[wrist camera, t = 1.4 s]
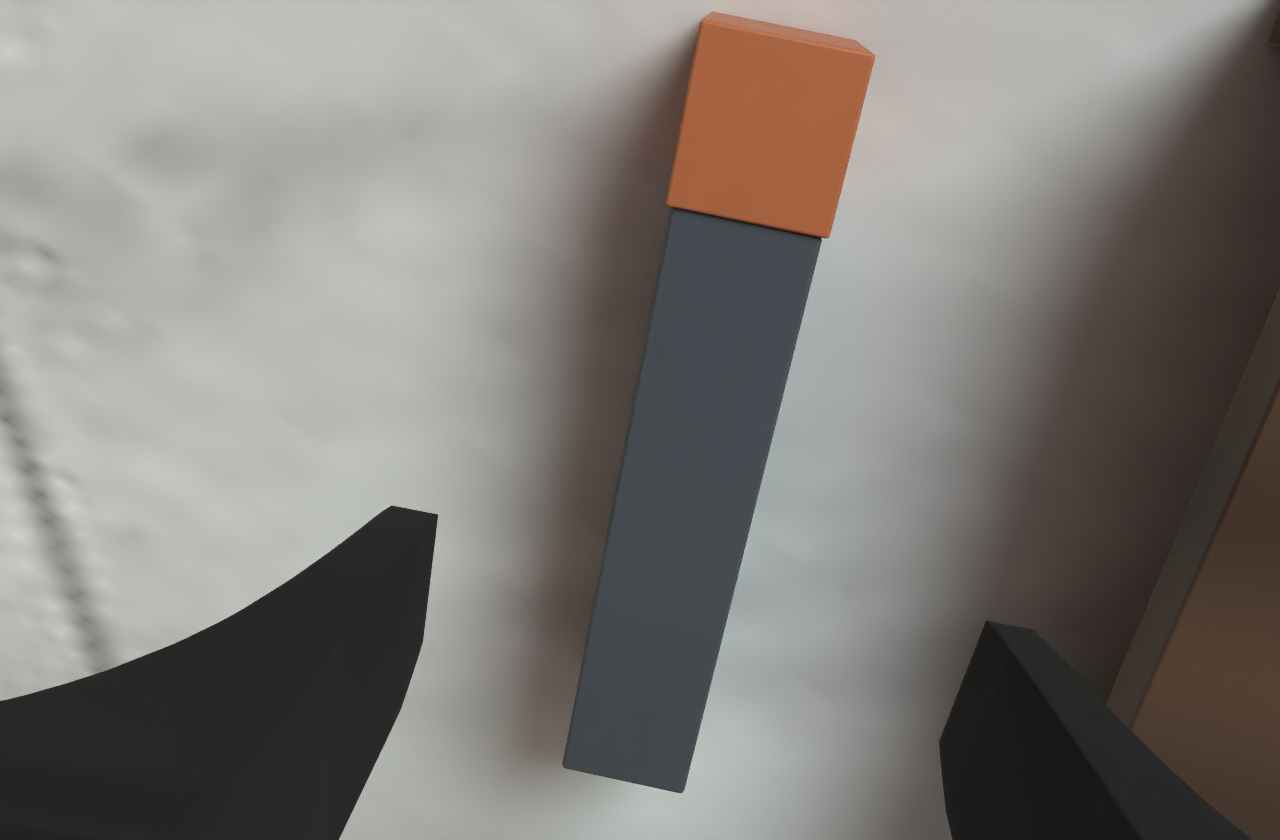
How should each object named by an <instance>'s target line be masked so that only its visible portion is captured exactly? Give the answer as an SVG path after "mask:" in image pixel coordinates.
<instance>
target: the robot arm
mask: <svg viewBox="0 0 1280 840" xmlns="http://www.w3.org/2000/svg"><path fill="white" fill-rule="evenodd" d="M437 519H438V515H437V514H432V513H427V512H422V511H417V510H412V509H406V508H401V507H396V506H390V507H389V508H387V509H385V510H384V511H382V512H381V513H380V514H378V515H377V516H376V517H374V518H373V519H372V520H370V521H369V522H368V523H367V524H365V525H364V526H363V527H362V528H360V529H359V530H358V531H356V532H355V533H354V534H353V535H351V536H350V537H349V538H347V539H346V540H345V541H343V542H342V543H341V544H339V545H338V546H337V547H335V548H334V549H333V550H331V551H330V552H329V553H327V554H326V555H324V556H323V557H322V558H320V559H319V560H317V561H316V562H315V563H313V564H312V565H310V566H309V567H307V568H306V569H305V570H303V571H302V572H300V573H299V574H298V575H296V576H295V577H293V578H292V579H290V580H289V581H287V582H286V583H284V584H283V585H281V586H279V587H278V588H276V589H275V590H273V591H271V592H270V593H268V594H267V595H265V596H263V597H262V598H260V599H259V600H257V601H255V602H254V603H252V604H250V605H249V606H247V607H246V608H244V609H242V610H241V611H239V612H237V613H235V614H234V615H232V616H230V617H228V618H226V619H224V620H223V621H221V622H219V623H217V624H215V625H213V626H211V627H209V628H207V629H204V630H202V631H200V632H198V633H196V634H194V635H192V636H190V637H188V638H186V639H184V640H182V641H179V642H177V643H175V644H173V645H170V646H168V647H165V648H163V649H160V650H158V651H155V652H152V653H150V654H147V655H145V656H142V657H140V658H137V659H135V660H132V661H130V662H127V663H125V664H122V665H120V666H117V667H115V668H112V669H109V670H106V671H104V672H101V673H98V674H95V675H91V676H88V677H85V678H82V679H79V680H76V681H73V682H70V683H66V684H63V685H60V686H56V687H53V688H49V689H46V690H42V691H39V692H35V693H32V694H28V695H24V696H20V697H16V698H12V699H8V700H4V701H0V840H339V838H340V836H341V834H342V832H343V830H344V828H345V825H346V823H347V821H348V819H349V817H350V815H351V813H352V811H353V809H354V807H355V805H356V802H357V800H358V798H359V796H360V794H361V792H362V790H363V788H364V786H365V784H366V782H367V779H368V777H369V775H370V773H371V771H372V769H373V767H374V765H375V763H376V761H377V759H378V757H379V754H380V752H381V750H382V748H383V746H384V744H385V742H386V740H387V737H388V735H389V733H390V731H391V729H392V727H393V725H394V723H395V720H396V718H397V716H398V714H399V712H400V710H401V707H402V704H403V701H404V698H405V695H406V692H407V689H408V686H409V683H410V680H411V677H412V674H413V671H414V668H415V665H416V662H417V659H418V656H419V652H420V649H421V646H422V643H423V636H424V628H425V620H426V611H427V603H428V594H429V586H430V578H431V569H432V561H433V552H434V544H435V536H436V527H437ZM939 745H940V757H941V769H942V781H943V789H944V798H945V806H946V814H947V818H948V822H949V827H950V831H951V835H952V839H953V840H1252V839H1251V838H1250V837H1249V836H1247V835H1246V834H1245V833H1244V832H1242V831H1241V830H1240V829H1239V828H1237V827H1236V826H1235V825H1234V824H1233V823H1231V822H1230V821H1229V820H1228V819H1226V818H1225V817H1224V816H1223V815H1221V814H1220V813H1219V812H1218V811H1217V810H1216V809H1214V808H1213V807H1212V806H1211V805H1210V804H1209V803H1207V802H1206V801H1205V800H1204V799H1203V798H1202V797H1201V796H1199V795H1198V794H1197V793H1196V792H1195V791H1194V790H1193V789H1192V788H1191V787H1190V786H1189V785H1187V784H1186V783H1185V782H1184V781H1183V780H1182V779H1181V778H1180V777H1179V776H1178V775H1177V774H1176V773H1174V772H1173V771H1172V770H1171V769H1170V768H1169V767H1168V766H1167V765H1166V764H1165V763H1164V762H1163V761H1162V760H1160V759H1159V758H1158V757H1157V756H1156V755H1155V754H1154V753H1153V752H1152V751H1151V750H1150V749H1149V748H1148V747H1147V746H1146V745H1145V744H1144V743H1143V742H1142V741H1141V740H1140V739H1139V738H1138V737H1137V736H1136V735H1135V734H1134V733H1133V732H1132V731H1131V730H1130V729H1129V728H1128V727H1127V726H1126V725H1125V724H1124V723H1123V722H1122V721H1121V720H1120V719H1119V718H1118V717H1117V716H1116V715H1115V714H1114V713H1113V711H1112V710H1111V709H1110V708H1109V707H1108V706H1107V705H1106V704H1105V703H1104V702H1103V701H1102V700H1101V699H1100V698H1099V697H1098V696H1097V695H1096V694H1095V693H1094V692H1093V691H1092V689H1091V688H1090V687H1089V686H1088V685H1087V684H1086V683H1085V682H1084V681H1083V680H1082V679H1081V678H1080V677H1079V676H1078V675H1077V674H1076V673H1075V672H1074V670H1073V669H1072V668H1071V667H1070V666H1069V665H1068V664H1067V663H1066V662H1065V661H1064V660H1063V659H1062V658H1061V657H1060V656H1059V655H1058V654H1057V653H1056V652H1055V651H1054V650H1053V649H1052V648H1051V647H1050V646H1049V645H1048V644H1047V643H1046V642H1045V641H1044V640H1043V639H1042V638H1041V637H1040V636H1039V635H1038V634H1036V633H1035V632H1034V631H1033V630H1031V629H1026V628H1021V627H1015V626H1010V625H1005V624H1000V623H995V622H990V621H986V622H985V625H984V627H983V630H982V633H981V635H980V638H979V640H978V643H977V645H976V648H975V651H974V653H973V656H972V658H971V661H970V663H969V666H968V669H967V671H966V674H965V676H964V679H963V681H962V684H961V687H960V689H959V692H958V694H957V697H956V699H955V702H954V705H953V707H952V710H951V712H950V715H949V717H948V720H947V723H946V725H945V728H944V730H943V733H942V735H941V738H940V741H939Z"/></svg>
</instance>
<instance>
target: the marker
mask: <svg viewBox="0 0 1280 840" xmlns="http://www.w3.org/2000/svg"><path fill="white" fill-rule="evenodd" d="M874 59H875V56H874V54H873V53H871V52H870V51H869V50H867V49H866V48H865V47H864V46H862V45H861V44H860V43H858V42H857V41H856V40H851V39H846V38H841V37H836V36H831V35H826V34H821V33H816V32H811V31H806V30H801V29H796V28H791V27H786V26H781V25H776V24H771V23H766V22H761V21H756V20H751V19H746V18H741V17H736V16H731V15H726V14H721V13H716V12H711V13H710V14H708V15H707V16H706V17H705V18H704V19H703V20H702V21H701V22H700V26H699V31H698V37H697V42H696V47H695V52H694V57H693V62H692V68H691V73H690V78H689V83H688V88H687V94H686V99H685V104H684V109H683V114H682V119H681V125H680V130H679V135H678V140H677V145H676V151H675V156H674V161H673V166H672V171H671V177H670V182H669V187H668V192H667V197H666V205H668V206H670V207H671V210H670V214H669V220H668V225H667V230H666V235H665V240H664V245H663V250H662V255H661V261H660V266H659V271H658V276H657V281H656V286H655V291H654V296H653V302H652V307H651V312H650V317H649V322H648V327H647V332H646V337H645V343H644V348H643V353H642V358H641V363H640V368H639V373H638V378H637V384H636V389H635V394H634V399H633V404H632V409H631V414H630V419H629V425H628V430H627V435H626V440H625V445H624V450H623V455H622V461H621V466H620V471H619V476H618V481H617V486H616V491H615V496H614V502H613V507H612V512H611V517H610V522H609V527H608V532H607V537H606V543H605V548H604V553H603V558H602V563H601V568H600V573H599V578H598V584H597V589H596V594H595V599H594V604H593V609H592V614H591V619H590V625H589V630H588V635H587V640H586V645H585V650H584V655H583V660H582V666H581V671H580V676H579V681H578V686H577V691H576V696H575V701H574V707H573V712H572V717H571V722H570V727H569V732H568V737H567V742H566V748H565V753H564V758H563V763H562V764H563V767H564V768H567V769H571V770H576V771H581V772H585V773H590V774H594V775H599V776H604V777H608V778H613V779H617V780H622V781H627V782H631V783H636V784H640V785H645V786H650V787H654V788H659V789H663V790H668V791H673V792H677V793H682V792H683V791H684V789H685V785H686V781H687V777H688V773H689V769H690V765H691V761H692V757H693V753H694V749H695V745H696V741H697V737H698V733H699V729H700V725H701V721H702V717H703V713H704V709H705V705H706V701H707V697H708V693H709V689H710V685H711V681H712V677H713V673H714V669H715V665H716V661H717V657H718V653H719V649H720V645H721V641H722V637H723V633H724V629H725V625H726V621H727V617H728V613H729V609H730V605H731V601H732V597H733V593H734V589H735V585H736V581H737V577H738V573H739V569H740V565H741V561H742V557H743V553H744V549H745V545H746V541H747V537H748V533H749V529H750V525H751V521H752V517H753V513H754V509H755V505H756V501H757V497H758V493H759V489H760V485H761V481H762V477H763V473H764V469H765V465H766V461H767V457H768V453H769V449H770V445H771V441H772V437H773V433H774V429H775V425H776V421H777V417H778V413H779V409H780V405H781V401H782V397H783V393H784V389H785V385H786V381H787V377H788V373H789V369H790V365H791V361H792V357H793V353H794V349H795V345H796V341H797V337H798V333H799V329H800V325H801V321H802V317H803V313H804V309H805V305H806V301H807V297H808V293H809V289H810V285H811V281H812V277H813V273H814V269H815V265H816V261H817V257H818V253H819V249H820V245H821V241H822V240H821V237H822V238H828V237H829V236H830V233H831V229H832V225H833V221H834V217H835V213H836V209H837V205H838V201H839V197H840V193H841V190H842V186H843V182H844V178H845V174H846V170H847V166H848V162H849V158H850V154H851V150H852V146H853V142H854V138H855V134H856V130H857V126H858V122H859V118H860V114H861V110H862V106H863V102H864V98H865V95H866V91H867V87H868V83H869V79H870V75H871V71H872V67H873V63H874Z"/></svg>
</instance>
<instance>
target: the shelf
mask: <svg viewBox="0 0 1280 840" xmlns="http://www.w3.org/2000/svg"><path fill="white" fill-rule="evenodd" d="M1269 43H1270V44H1272V45H1276V46H1280V14H1279V17H1278V20H1277V22H1276V25H1275V27H1274V30H1273V33H1272V35H1271V38H1270V42H1269ZM1106 705H1107V706H1108V707H1109V708H1110V709H1111V710H1112V711H1113V713H1114V714H1115V715H1116V716H1117V717H1118V718H1119V719H1120V720H1121V721H1122V722H1123V723H1124V724H1125V725H1126V726H1127V727H1128V728H1129V729H1130V730H1131V731H1132V732H1133V733H1134V734H1135V735H1136V736H1137V737H1138V738H1139V739H1140V740H1141V741H1142V742H1143V743H1144V744H1145V745H1146V746H1147V747H1148V748H1149V749H1150V750H1151V751H1152V752H1153V753H1154V754H1155V755H1156V756H1157V757H1158V758H1159V759H1160V760H1162V761H1163V762H1164V763H1165V764H1166V765H1167V766H1168V767H1169V768H1170V769H1171V770H1172V771H1173V772H1174V773H1176V774H1177V775H1178V776H1179V777H1180V778H1181V779H1182V780H1183V781H1184V782H1185V783H1186V784H1187V785H1189V786H1190V787H1191V788H1192V789H1193V790H1194V791H1195V792H1196V793H1197V794H1198V795H1199V796H1201V797H1202V798H1203V799H1204V800H1205V801H1206V802H1207V803H1209V804H1210V805H1211V806H1212V807H1213V808H1214V809H1216V810H1217V811H1218V812H1219V813H1220V814H1221V815H1223V816H1224V817H1225V818H1226V819H1228V820H1229V821H1230V822H1231V823H1233V824H1234V825H1235V826H1236V827H1237V828H1239V829H1240V830H1241V831H1242V832H1244V833H1245V834H1246V835H1247V836H1249V837H1250V838H1251V839H1252V840H1280V288H1279V291H1278V293H1277V296H1276V298H1275V300H1274V303H1273V305H1272V308H1271V310H1270V312H1269V315H1268V317H1267V320H1266V322H1265V324H1264V327H1263V329H1262V332H1261V334H1260V336H1259V339H1258V341H1257V343H1256V346H1255V348H1254V351H1253V353H1252V355H1251V358H1250V360H1249V363H1248V365H1247V367H1246V370H1245V372H1244V375H1243V377H1242V379H1241V382H1240V384H1239V387H1238V389H1237V391H1236V394H1235V396H1234V399H1233V401H1232V403H1231V406H1230V408H1229V411H1228V413H1227V415H1226V418H1225V420H1224V423H1223V425H1222V427H1221V430H1220V432H1219V434H1218V437H1217V439H1216V442H1215V444H1214V446H1213V449H1212V451H1211V454H1210V456H1209V458H1208V461H1207V463H1206V466H1205V468H1204V470H1203V473H1202V475H1201V478H1200V480H1199V482H1198V485H1197V487H1196V490H1195V492H1194V494H1193V497H1192V499H1191V502H1190V504H1189V506H1188V509H1187V511H1186V513H1185V516H1184V518H1183V521H1182V523H1181V525H1180V528H1179V530H1178V533H1177V535H1176V537H1175V540H1174V542H1173V545H1172V547H1171V549H1170V552H1169V554H1168V557H1167V559H1166V561H1165V564H1164V566H1163V569H1162V571H1161V573H1160V576H1159V578H1158V581H1157V583H1156V585H1155V588H1154V590H1153V593H1152V595H1151V597H1150V600H1149V602H1148V604H1147V607H1146V609H1145V612H1144V614H1143V616H1142V619H1141V621H1140V624H1139V626H1138V628H1137V631H1136V633H1135V636H1134V638H1133V640H1132V643H1131V645H1130V648H1129V650H1128V652H1127V655H1126V657H1125V660H1124V662H1123V664H1122V667H1121V669H1120V672H1119V674H1118V676H1117V679H1116V681H1115V683H1114V686H1113V688H1112V691H1111V693H1110V695H1109V698H1108V700H1107V703H1106Z"/></svg>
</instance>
